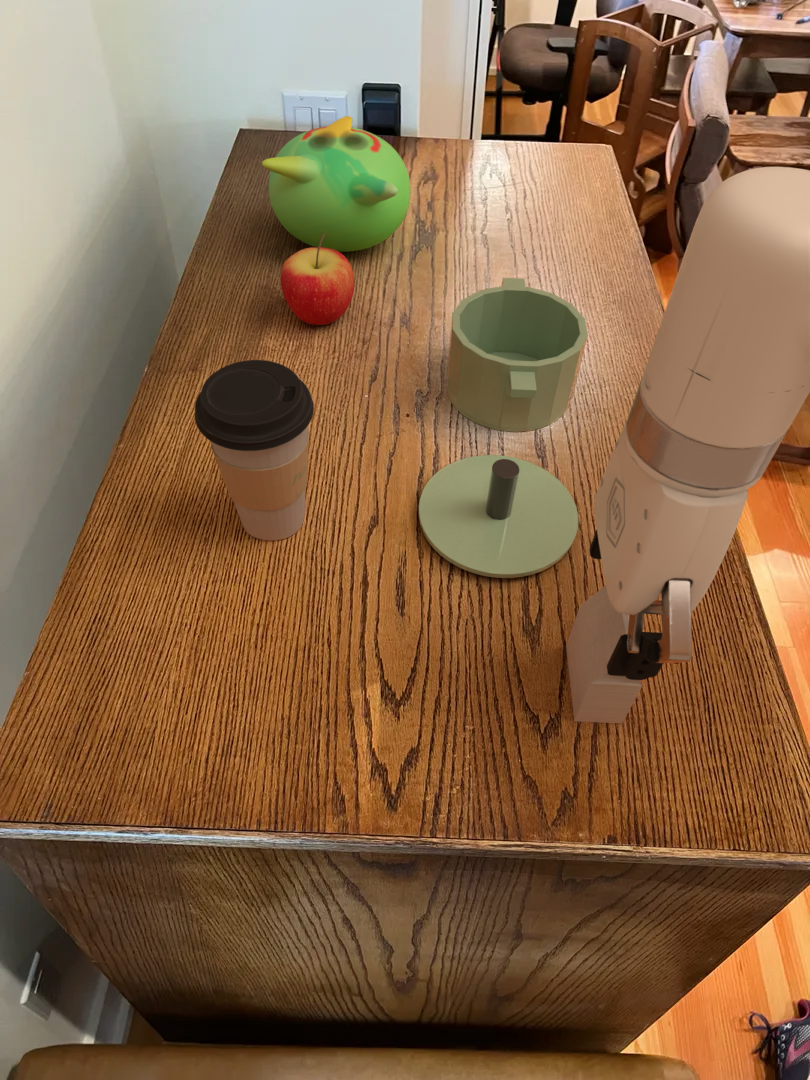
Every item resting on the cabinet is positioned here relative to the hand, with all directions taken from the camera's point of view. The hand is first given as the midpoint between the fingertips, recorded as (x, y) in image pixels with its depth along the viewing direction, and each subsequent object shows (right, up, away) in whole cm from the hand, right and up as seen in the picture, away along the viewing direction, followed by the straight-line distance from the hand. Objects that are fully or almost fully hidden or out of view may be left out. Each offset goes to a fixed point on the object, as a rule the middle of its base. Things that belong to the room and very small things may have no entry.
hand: (619, 611), depth 53 cm
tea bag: (0, -7, +8) cm, 10 cm away
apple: (-25, +31, +39) cm, 56 cm away
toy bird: (-23, +45, +50) cm, 71 cm away
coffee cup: (-27, +7, +18) cm, 34 cm away
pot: (-4, +21, +31) cm, 38 cm away
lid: (-6, +7, +18) cm, 21 cm away
